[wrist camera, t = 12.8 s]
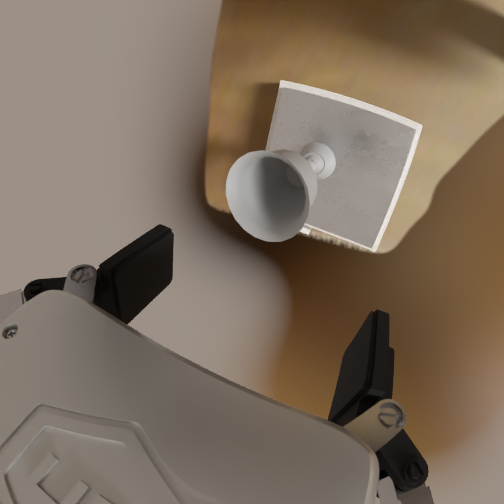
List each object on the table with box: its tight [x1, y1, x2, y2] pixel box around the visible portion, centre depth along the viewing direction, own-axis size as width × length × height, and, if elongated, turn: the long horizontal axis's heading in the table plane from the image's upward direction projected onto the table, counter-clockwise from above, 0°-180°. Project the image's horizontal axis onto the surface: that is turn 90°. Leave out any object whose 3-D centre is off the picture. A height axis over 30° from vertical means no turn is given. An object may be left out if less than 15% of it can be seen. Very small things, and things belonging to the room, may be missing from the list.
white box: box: [269, 87, 416, 248], centre depth 38 cm, size 18×21×6 cm
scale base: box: [265, 80, 423, 252], centre depth 39 cm, size 20×21×6 cm
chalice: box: [226, 142, 336, 242], centre depth 28 cm, size 7×7×18 cm
